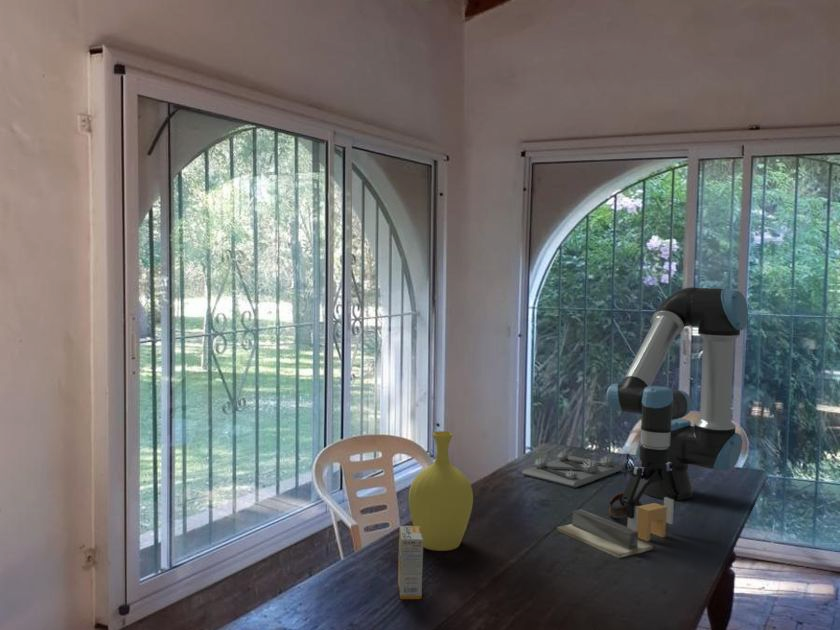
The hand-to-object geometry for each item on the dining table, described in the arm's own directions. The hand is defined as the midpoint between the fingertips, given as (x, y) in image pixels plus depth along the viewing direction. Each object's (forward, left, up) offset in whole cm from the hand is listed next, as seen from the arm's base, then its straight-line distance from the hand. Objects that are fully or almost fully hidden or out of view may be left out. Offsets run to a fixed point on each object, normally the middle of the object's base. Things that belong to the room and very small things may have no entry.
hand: (650, 526), depth 211 cm
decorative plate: (-25, -56, -4) cm, 62 cm away
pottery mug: (-7, -14, -3) cm, 16 cm away
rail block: (+13, -4, -3) cm, 14 cm away
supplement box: (+74, -1, -3) cm, 74 cm away
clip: (0, 0, -3) cm, 3 cm away
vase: (+52, -22, -3) cm, 56 cm away
